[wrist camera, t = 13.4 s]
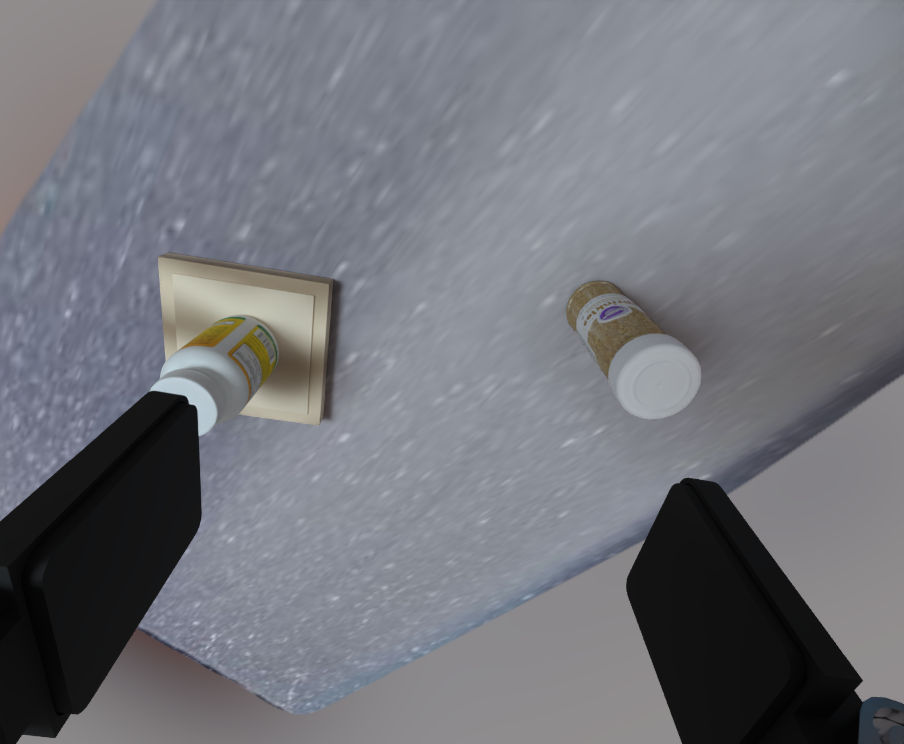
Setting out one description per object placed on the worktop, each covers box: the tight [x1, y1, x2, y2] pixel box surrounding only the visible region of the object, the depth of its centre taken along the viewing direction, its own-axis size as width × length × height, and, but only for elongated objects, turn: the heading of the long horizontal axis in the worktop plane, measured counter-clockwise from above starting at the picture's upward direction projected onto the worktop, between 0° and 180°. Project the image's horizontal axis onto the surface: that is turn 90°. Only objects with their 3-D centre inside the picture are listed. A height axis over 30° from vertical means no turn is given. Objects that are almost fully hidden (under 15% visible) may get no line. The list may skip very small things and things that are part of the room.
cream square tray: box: [158, 252, 333, 425], centre depth 39 cm, size 12×12×2 cm
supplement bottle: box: [150, 315, 279, 436], centre depth 34 cm, size 6×5×10 cm
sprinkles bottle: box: [567, 281, 702, 420], centre depth 33 cm, size 5×5×14 cm
